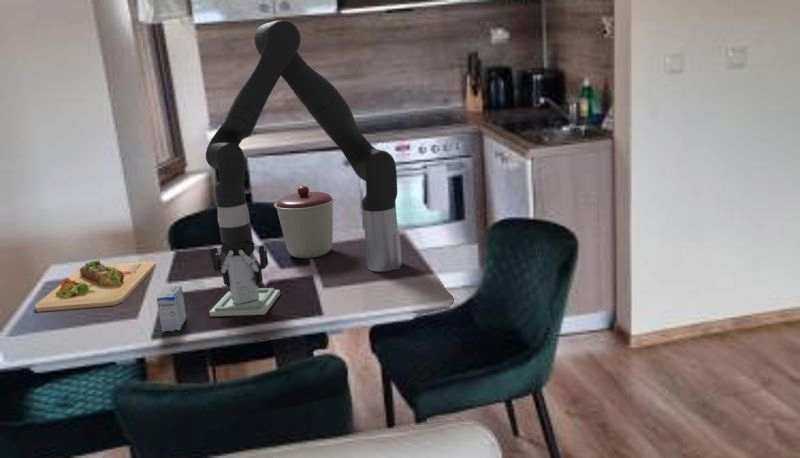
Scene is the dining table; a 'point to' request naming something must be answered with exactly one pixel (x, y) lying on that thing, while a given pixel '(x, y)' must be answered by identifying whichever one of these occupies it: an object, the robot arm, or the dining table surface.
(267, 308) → the light green square tray
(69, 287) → the cutting board
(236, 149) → the robot arm
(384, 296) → the dining table surface
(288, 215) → the canister
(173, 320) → the medicine box
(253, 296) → the skincare box
